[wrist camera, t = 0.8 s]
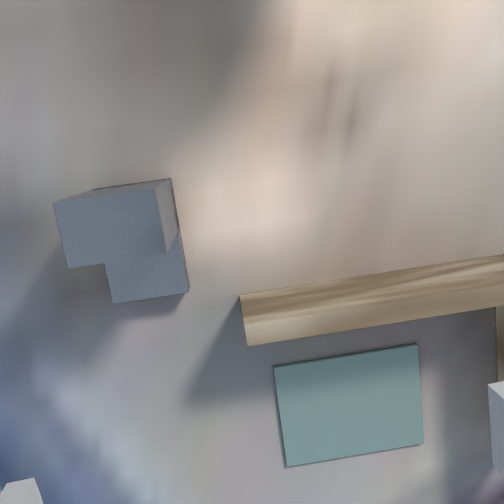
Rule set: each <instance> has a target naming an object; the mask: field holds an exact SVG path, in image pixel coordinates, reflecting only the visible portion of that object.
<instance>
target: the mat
mask: <svg viewBox="0 0 504 504" xmlns="http://www.w3.org/2000/svg"><path fill="white" fill-rule="evenodd" d="M273 369H274V376H275V384H276V391H277V398H278V405H279V413H280V420H281V427H282V434H283V441H284V449H285V456H286V463H287V467H289V466H295V465H301V464H307V463H313V462H318V461H324V460H330V459H336V458H342V457H348V456H353V455H359V454H365V453H371V452H377V451H383V450H389V449H394V448H400V447H406V446H412V445H418V444H424V435H423V419H422V403H421V387H420V371H419V355H418V345H417V344H411V345H404V346H398V347H392V348H386V349H380V350H373V351H367V352H361V353H355V354H349V355H343V356H336V357H330V358H324V359H318V360H312V361H305V362H299V363H293V364H287V365H281V366H274V367H273Z"/></svg>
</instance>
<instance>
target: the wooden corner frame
mask: <svg viewBox="0 0 504 504" xmlns="http://www.w3.org/2000/svg"><path fill="white" fill-rule="evenodd" d="M240 302H241V309H242V315H243V321H244V328H245V334H246V340H247V346H253V345H259V344H265V343H272V342H278V341H284V340H290V339H297V338H303V337H309V336H316V335H322V334H328V333H334V332H341V331H347V330H353V329H360V328H366V327H372V326H378V325H385V324H391V323H397V322H403V321H410V320H416V319H422V318H429V317H435V316H441V315H447V314H454V313H460V312H466V311H472V310H479V309H485V308H491V307H496V338H497V382H501V381H504V254H503V255H497V256H490V257H484V258H477V259H471V260H464V261H458V262H451V263H445V264H438V265H432V266H425V267H419V268H412V269H406V270H399V271H393V272H387V273H380V274H374V275H367V276H361V277H354V278H348V279H341V280H335V281H328V282H322V283H315V284H309V285H302V286H296V287H290V288H283V289H277V290H270V291H264V292H257V293H251V294H244V295H240Z"/></svg>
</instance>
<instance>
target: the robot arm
mask: <svg viewBox="0 0 504 504" xmlns="http://www.w3.org/2000/svg"><path fill="white" fill-rule="evenodd" d="M488 398H489V413H490V429H491V444H492V459H493V466H494V467H495V468H496V469H497V471H498V472H499V473H500V474H501V475H502V476H503V478H504V381H501V382H496V383H492V384H488ZM0 504H43V501H42V498H41V495H40V493H39V490H38V487H37V484H36V481H35V478H30V479H26V480H21V481H16V482H11V483H7V484H6V486H5V488H4V489H3V491H2V492H1V494H0Z"/></svg>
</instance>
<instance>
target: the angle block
mask: <svg viewBox="0 0 504 504" xmlns="http://www.w3.org/2000/svg"><path fill="white" fill-rule="evenodd" d="M53 207H54V211H55V215H56V220H57V224H58V228H59V232H60V237H61V241H62V245H63V250H64V254H65V258H66V262H67V267H68V269H70V268H76V267H83V266H90V265H96V264H103V263H104V264H105V269H106V273H107V278H108V283H109V287H110V292H111V297H112V301H113V304H117V303H123V302H130V301H136V300H143V299H149V298H156V297H162V296H169V295H175V294H182V293H188V292H189V287H190V284H189V278H188V273H187V267H186V261H185V255H184V250H183V244H182V238H181V232H180V227H179V221H178V215H177V209H176V204H175V198H174V192H173V187H172V181H171V178H168V179H161V180H154V181H147V182H140V183H133V184H126V185H119V186H112V187H105V188H98V189H93V190H90V191H87V192H84V193H81V194H78V195H75V196H72V197H69V198H66V199H63V200H60V201H57V202H54V203H53Z"/></svg>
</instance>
